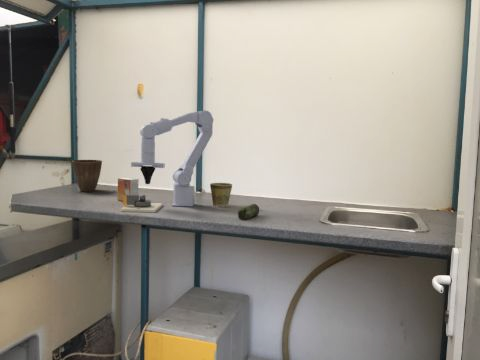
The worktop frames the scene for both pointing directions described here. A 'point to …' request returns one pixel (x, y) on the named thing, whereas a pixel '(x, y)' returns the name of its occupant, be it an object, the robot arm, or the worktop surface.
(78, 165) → the plant pot
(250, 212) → the vegetable
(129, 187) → the small box
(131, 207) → the console plate
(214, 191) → the ceramic cup
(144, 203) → the lever door handle
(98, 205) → the worktop surface
